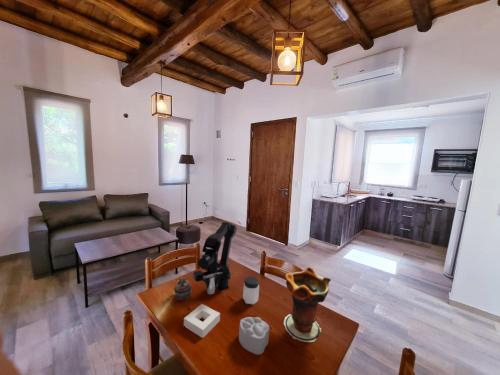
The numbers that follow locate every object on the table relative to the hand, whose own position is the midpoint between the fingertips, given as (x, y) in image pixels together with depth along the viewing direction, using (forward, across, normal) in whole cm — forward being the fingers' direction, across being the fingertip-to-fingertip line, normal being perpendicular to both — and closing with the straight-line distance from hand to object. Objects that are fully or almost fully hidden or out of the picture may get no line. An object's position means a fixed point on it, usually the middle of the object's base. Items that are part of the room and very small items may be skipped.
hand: (211, 287), depth 110 cm
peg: (+3, 0, 0) cm, 3 cm away
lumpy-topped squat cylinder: (+10, -9, +30) cm, 33 cm away
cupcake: (+10, +12, -13) cm, 20 cm away
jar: (+10, -22, +6) cm, 25 cm away
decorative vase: (+10, -35, +34) cm, 50 cm away
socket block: (+10, +8, +11) cm, 17 cm away
